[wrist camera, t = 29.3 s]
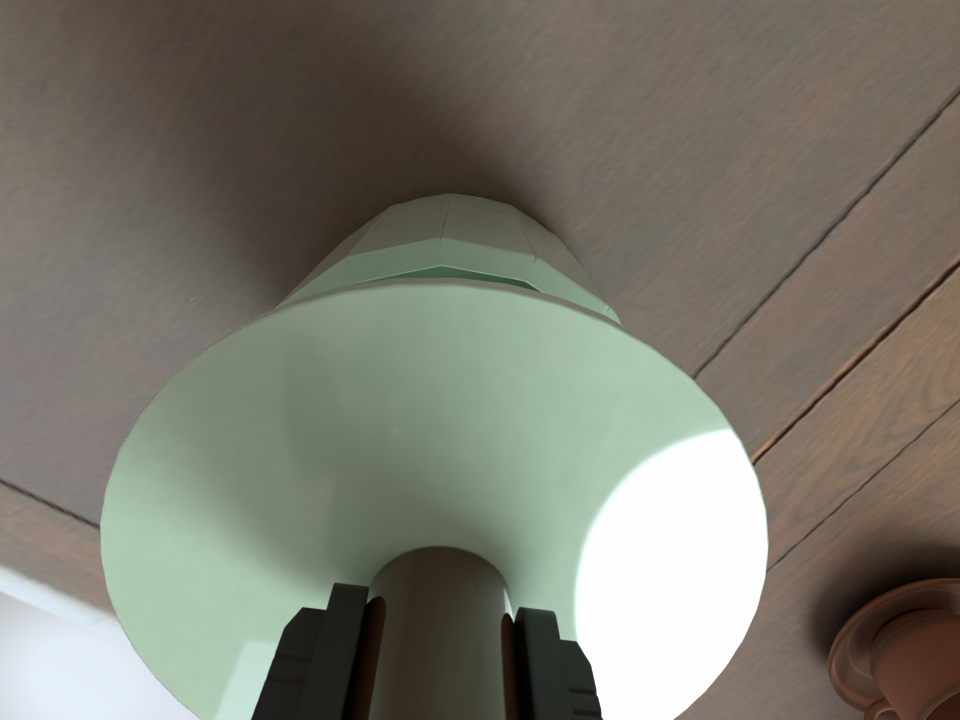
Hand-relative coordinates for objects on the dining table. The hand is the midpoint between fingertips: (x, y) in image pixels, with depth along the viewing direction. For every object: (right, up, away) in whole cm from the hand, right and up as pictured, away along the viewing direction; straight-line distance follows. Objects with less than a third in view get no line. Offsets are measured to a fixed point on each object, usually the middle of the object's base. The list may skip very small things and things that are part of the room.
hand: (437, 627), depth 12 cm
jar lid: (0, 0, +1) cm, 1 cm away
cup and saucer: (+29, -12, +25) cm, 40 cm away
